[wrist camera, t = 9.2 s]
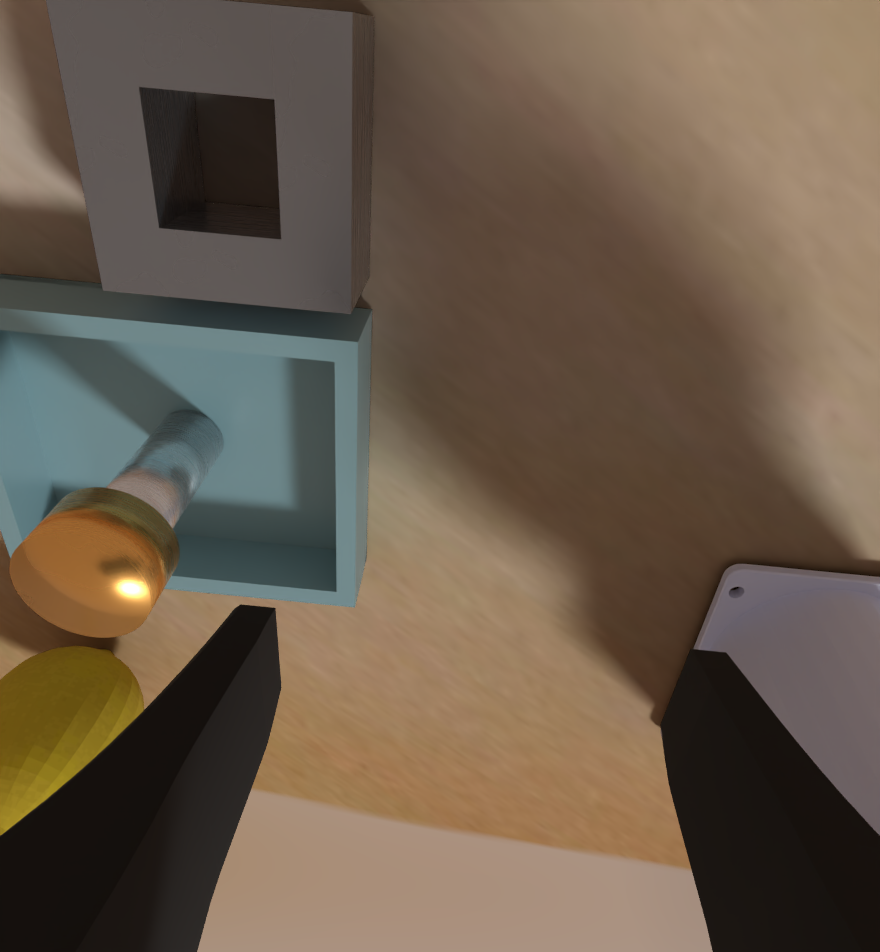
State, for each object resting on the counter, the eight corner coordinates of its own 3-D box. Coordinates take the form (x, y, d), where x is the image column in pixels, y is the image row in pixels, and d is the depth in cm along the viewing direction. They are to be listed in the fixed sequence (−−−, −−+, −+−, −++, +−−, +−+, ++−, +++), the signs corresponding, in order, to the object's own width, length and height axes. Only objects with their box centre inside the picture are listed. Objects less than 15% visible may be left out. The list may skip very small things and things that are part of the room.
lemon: (176, 620, 27) (71, 816, 20) (172, 708, 30) (80, 905, 23) (32, 589, 26) (-125, 780, 19) (44, 682, 29) (-89, 875, 22)
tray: (366, 558, 24) (355, 607, 22) (56, 528, 24) (15, 574, 22) (372, 309, 19) (357, 342, 17) (-18, 272, 19) (-80, 300, 17)
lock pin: (246, 484, 22) (159, 643, 16) (150, 474, 22) (29, 630, 16) (238, 397, 21) (138, 541, 15) (133, 386, 21) (-9, 526, 15)
